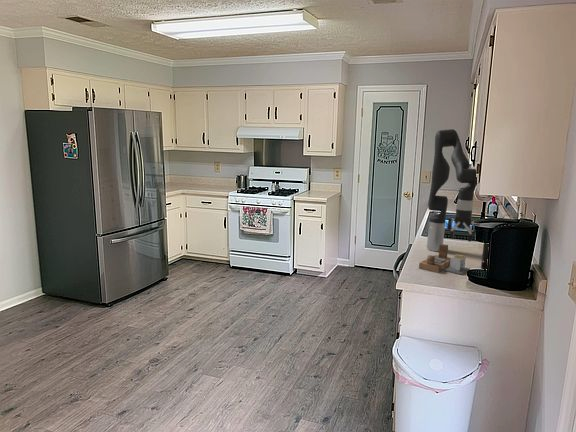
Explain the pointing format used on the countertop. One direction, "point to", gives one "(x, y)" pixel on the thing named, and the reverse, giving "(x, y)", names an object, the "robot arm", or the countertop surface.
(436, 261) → the plane body
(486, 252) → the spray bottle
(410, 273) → the countertop surface
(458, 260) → the grey labelled box
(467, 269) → the rubber mat
